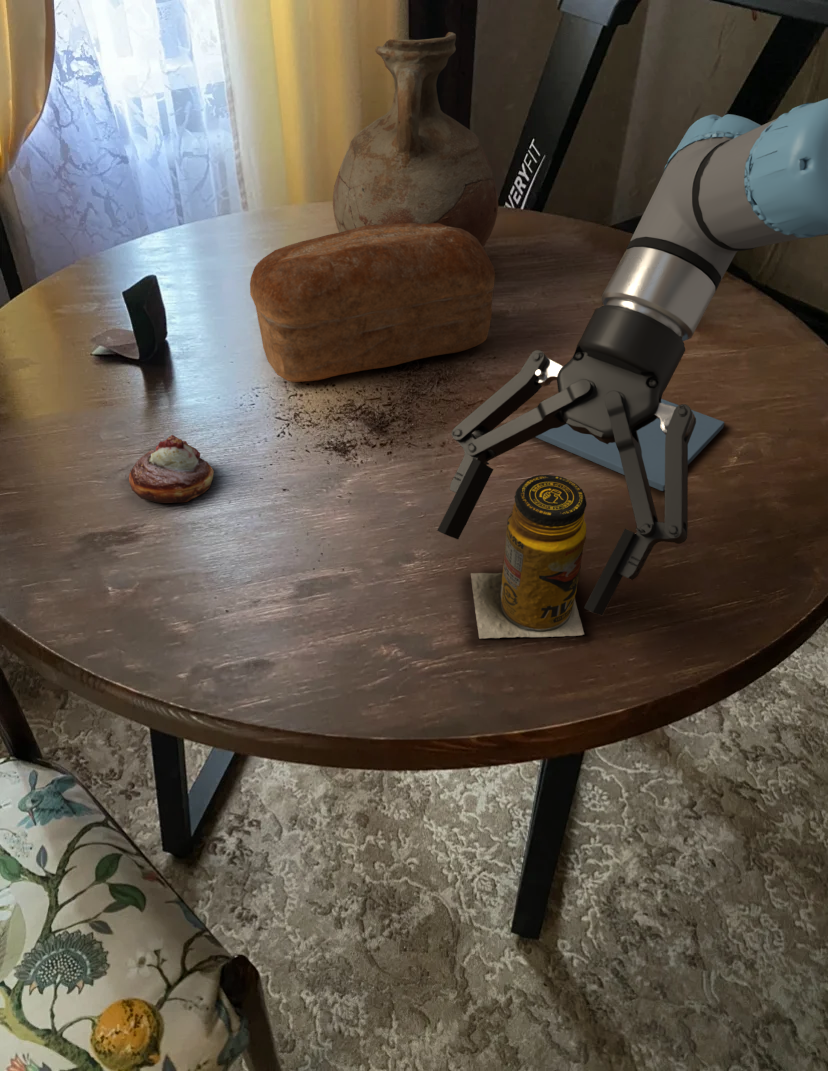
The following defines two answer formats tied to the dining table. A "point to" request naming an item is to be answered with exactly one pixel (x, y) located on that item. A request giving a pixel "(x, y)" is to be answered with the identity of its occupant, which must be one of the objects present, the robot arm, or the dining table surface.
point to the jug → (416, 155)
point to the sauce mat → (649, 442)
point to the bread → (372, 299)
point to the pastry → (171, 473)
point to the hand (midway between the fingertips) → (516, 572)
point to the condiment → (536, 565)
